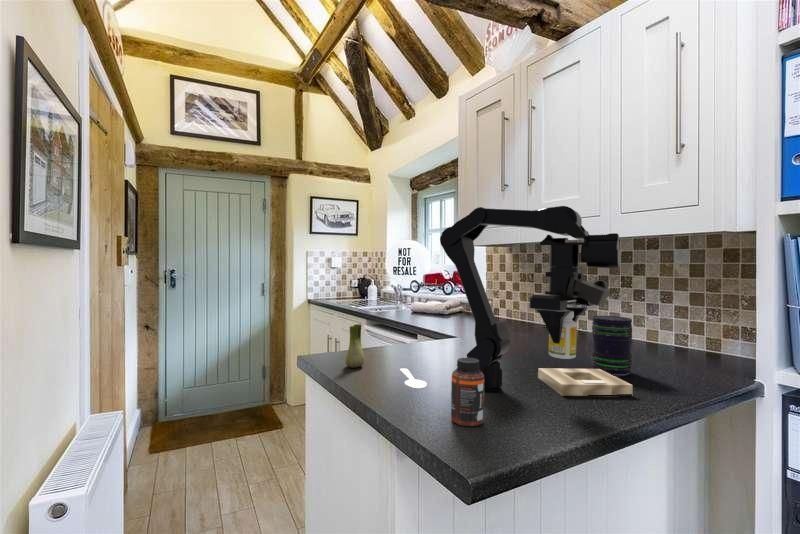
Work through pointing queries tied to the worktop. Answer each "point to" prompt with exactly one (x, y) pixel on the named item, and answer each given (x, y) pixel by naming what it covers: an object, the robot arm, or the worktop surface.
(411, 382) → the spoon
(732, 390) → the worktop surface
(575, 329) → the supplement bottle
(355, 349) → the fennel bulb
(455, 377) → the supplement bottle
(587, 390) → the wooden frame
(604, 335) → the storage jar
